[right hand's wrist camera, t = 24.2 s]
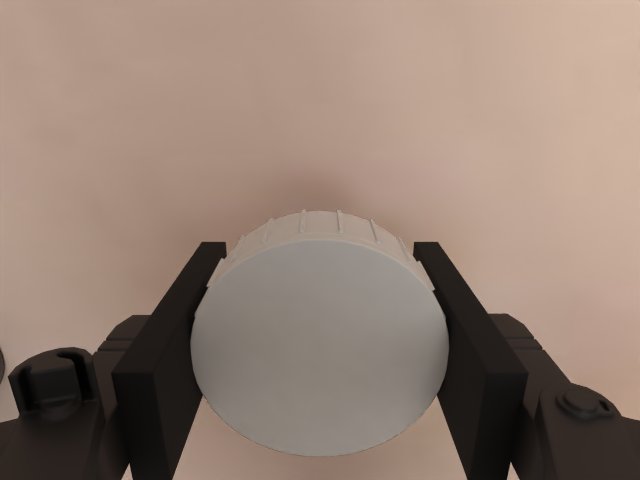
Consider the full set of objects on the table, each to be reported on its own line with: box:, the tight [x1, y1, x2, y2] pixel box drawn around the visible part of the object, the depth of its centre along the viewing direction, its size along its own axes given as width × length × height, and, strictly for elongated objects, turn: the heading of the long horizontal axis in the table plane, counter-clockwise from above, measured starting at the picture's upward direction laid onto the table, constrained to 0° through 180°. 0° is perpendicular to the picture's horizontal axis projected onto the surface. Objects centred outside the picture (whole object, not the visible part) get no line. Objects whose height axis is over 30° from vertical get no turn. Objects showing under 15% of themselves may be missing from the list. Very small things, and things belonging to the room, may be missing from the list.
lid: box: [190, 209, 449, 457], centre depth 11 cm, size 6×6×2 cm
